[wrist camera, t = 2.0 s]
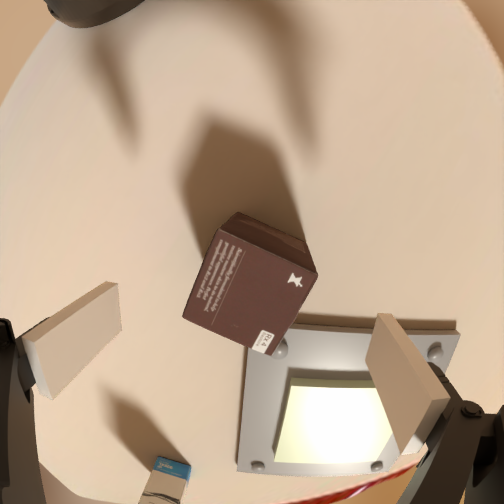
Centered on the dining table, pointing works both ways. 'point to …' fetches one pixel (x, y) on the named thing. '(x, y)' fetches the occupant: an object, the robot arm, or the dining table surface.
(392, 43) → the dining table surface
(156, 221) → the dining table surface
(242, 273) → the box
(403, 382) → the robot arm
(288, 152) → the dining table surface
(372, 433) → the board
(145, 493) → the ink box
